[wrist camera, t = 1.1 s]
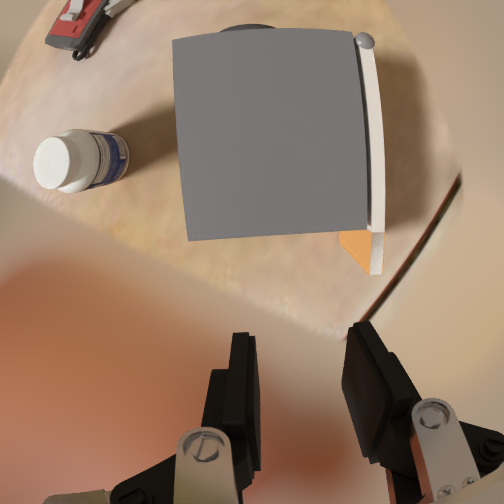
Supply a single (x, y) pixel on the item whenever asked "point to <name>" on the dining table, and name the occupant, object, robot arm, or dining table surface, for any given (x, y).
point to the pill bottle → (80, 160)
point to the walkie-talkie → (82, 24)
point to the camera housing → (269, 132)
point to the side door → (370, 166)
